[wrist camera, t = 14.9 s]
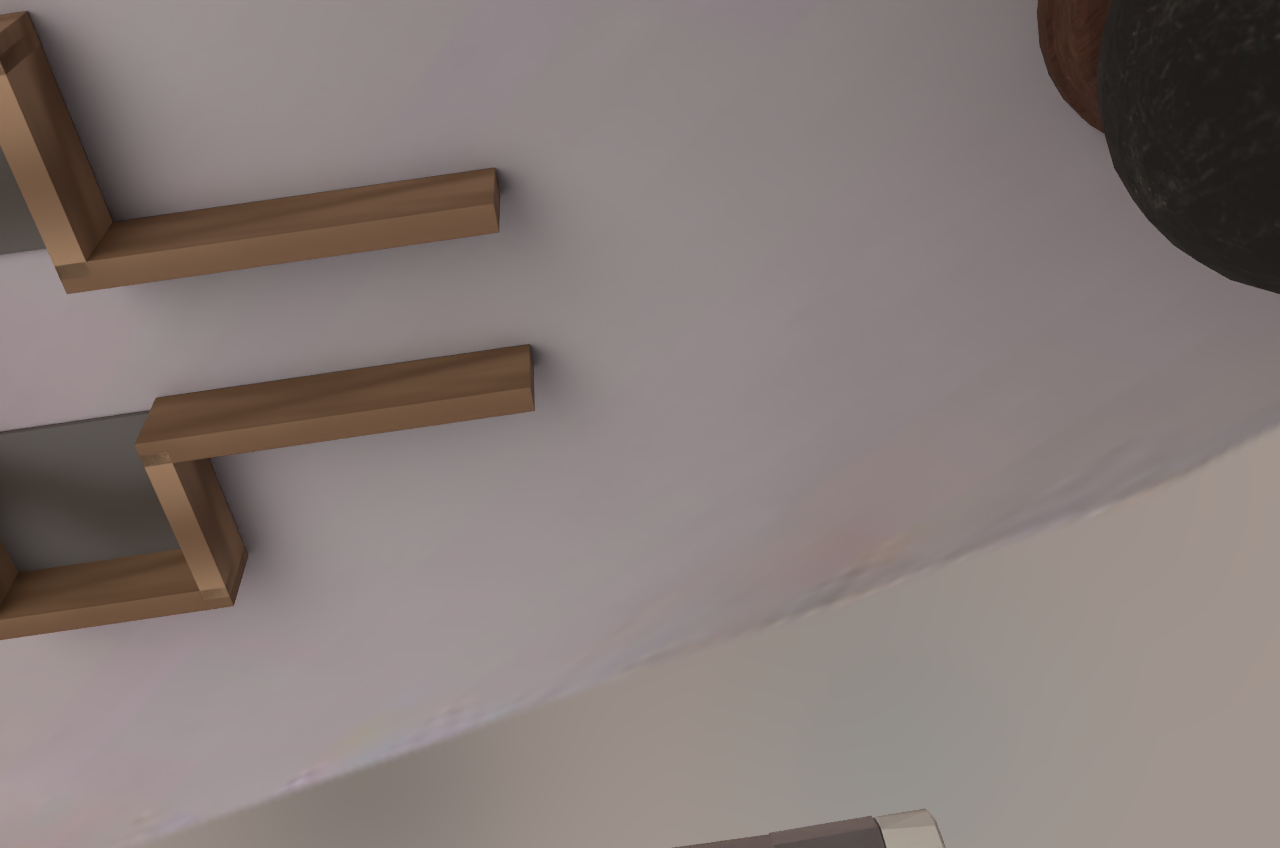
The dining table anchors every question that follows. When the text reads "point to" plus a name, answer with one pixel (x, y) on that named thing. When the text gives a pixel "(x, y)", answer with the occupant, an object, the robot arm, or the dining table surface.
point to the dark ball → (1183, 116)
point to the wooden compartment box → (201, 421)
